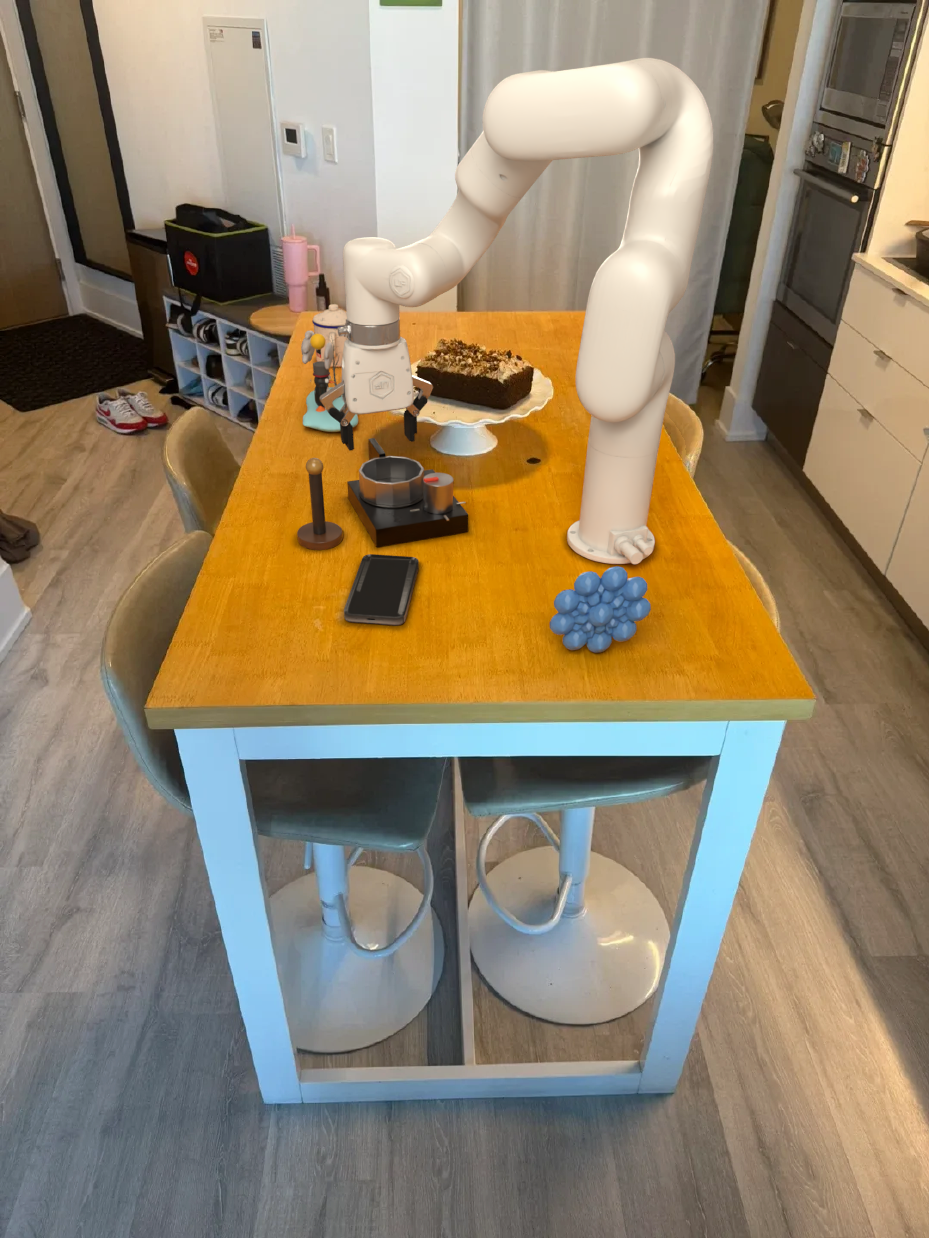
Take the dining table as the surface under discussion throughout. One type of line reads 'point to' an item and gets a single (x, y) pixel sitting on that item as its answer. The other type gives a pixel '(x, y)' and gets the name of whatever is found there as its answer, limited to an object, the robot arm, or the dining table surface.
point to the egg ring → (390, 468)
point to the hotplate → (406, 520)
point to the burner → (391, 480)
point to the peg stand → (318, 514)
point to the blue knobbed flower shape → (600, 609)
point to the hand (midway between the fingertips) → (379, 442)
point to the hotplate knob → (438, 493)
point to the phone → (382, 590)
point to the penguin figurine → (321, 385)
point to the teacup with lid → (330, 331)
